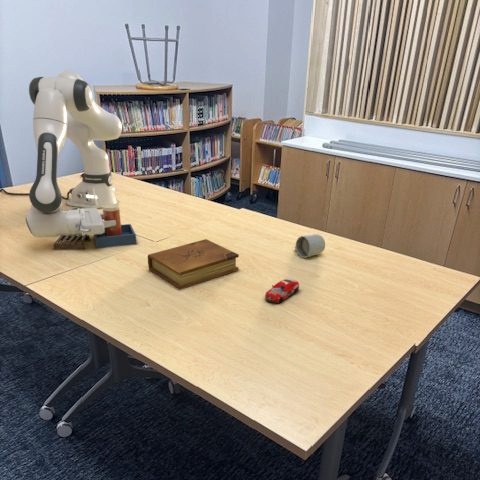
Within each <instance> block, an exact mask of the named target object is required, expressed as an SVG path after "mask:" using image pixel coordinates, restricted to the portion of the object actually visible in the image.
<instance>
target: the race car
mask: <svg viewBox="0 0 480 480" xmlns="http://www.w3.org/2000/svg"><path fill="white" fill-rule="evenodd" d="M299 290H300V283H299V281H298V280H295V279H292V278H284V279H281V280H280V281H278V282H277V283H275V284H274V285H271V288H269V290H267V291H266V292H265V295H264V297H265V300H266V301H268V302H270V303H278V304H282V303H283V301H284V300H286V299H288V298H289V297H291V296H292V295H296V294H297V292H298V291H299Z"/></svg>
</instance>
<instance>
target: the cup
mask: <svg viewBox="0 0 480 480" xmlns="http://www.w3.org/2000/svg"><path fill="white" fill-rule="evenodd" d="M102 207H103V208H102V213H103V215H104V220H103V221H111V220H116V225H115V226H110V227H107V228H105V231H106V237H107V236H117V235H122V228H121V225H122V220H121V211H120V204H119V203H117V204H113V203H112V204H105V205H103V206H102Z"/></svg>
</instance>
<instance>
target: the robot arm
mask: <svg viewBox="0 0 480 480" xmlns="http://www.w3.org/2000/svg"><path fill="white" fill-rule="evenodd" d="M28 95H29V99H30V100H31V102H32V104H33V105H34V107H33V118H32V130H33V138H34V143H35V146H36V151H37V152H36V153H37V156H36V157H37V159H36V173H35V174H36V175H35V179H34V182H33V184H32V186H31V187H30V189H29V192H28V193H24V192H23V193H22V192H19V193H17V192H10V191H9V192H8V191H6V190H5V189H4V188H1V189H0V192H1V193H2V192H4V194H6V195H11V196H28V198H29V202H30V203H31V204H30V208H29V211H28V213H27V215H26V216H25V224H26V226H27V228H28V231H29V233H30V234H31V235H32V236H33V237H35V238H42V239H44V238H49V239H50V238H59V237H60V236H61V235H66V236H72V235H85V234H87V235H89V236H90V235H91V236H92V235H93V234H103V233H105V229H104V228H107V227H110V226H115V225H116V220H111V221H104V215H103V212H101V211H100V209H103V207H102V206H103V205H105V204H112V203H113V204H118V200H117V198H116V195H115V192H114V191H115V190H116V189H115V187H113V177H112V171H111V168H110V158H109V155H108V153H107V152H106V151H105V150H104V149H102V148H100V147H98V146H97V145H96V144H95V142H94V141H113V140H118V139H119V138H120V136H121V135H122V131H123V125H122V122H121V119H120V118H119V117H118V116H117V115H116V114H113V113H112V112H111V113H110V112H109V111H107V110H105V109H104V108H102V107H101V106H100V105H99V104H97V102H96V101H95V100H94V96H93V91H92V88H91V85H90V84H88V82H86V81H85V80H84V79H82V77H81V76H80V75H79V73H77V72H75V71H74V70H64V71H62V72H60V73H59V74H58V76H52V77H51V76H49V77H43V76H38V77H34V78H32V80H30V82H29V85H28ZM67 139H68V140H70V141H71V142H72V143H73V144H74V145H75V146H76V148H77V150H78V152H79V153H80V155H81V160H82V164H83V170H84V172H83V173H81V174H80V175H79V179H81V181H80V182H79V183H78V184H77V185H76V186H75V187H73V188H70V189H69V191H67V193H66V197H64V196H63V195H62V192H61V188H60V187H59V185H58V160H59V154H60V152H61V150H62V149H63V148H64V147H65V144H66V140H67ZM70 195H71V197H70ZM63 200H65V201H67V202H66V205H67V206H70V207H72V208H71V209H69V210H62V205H63Z"/></svg>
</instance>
